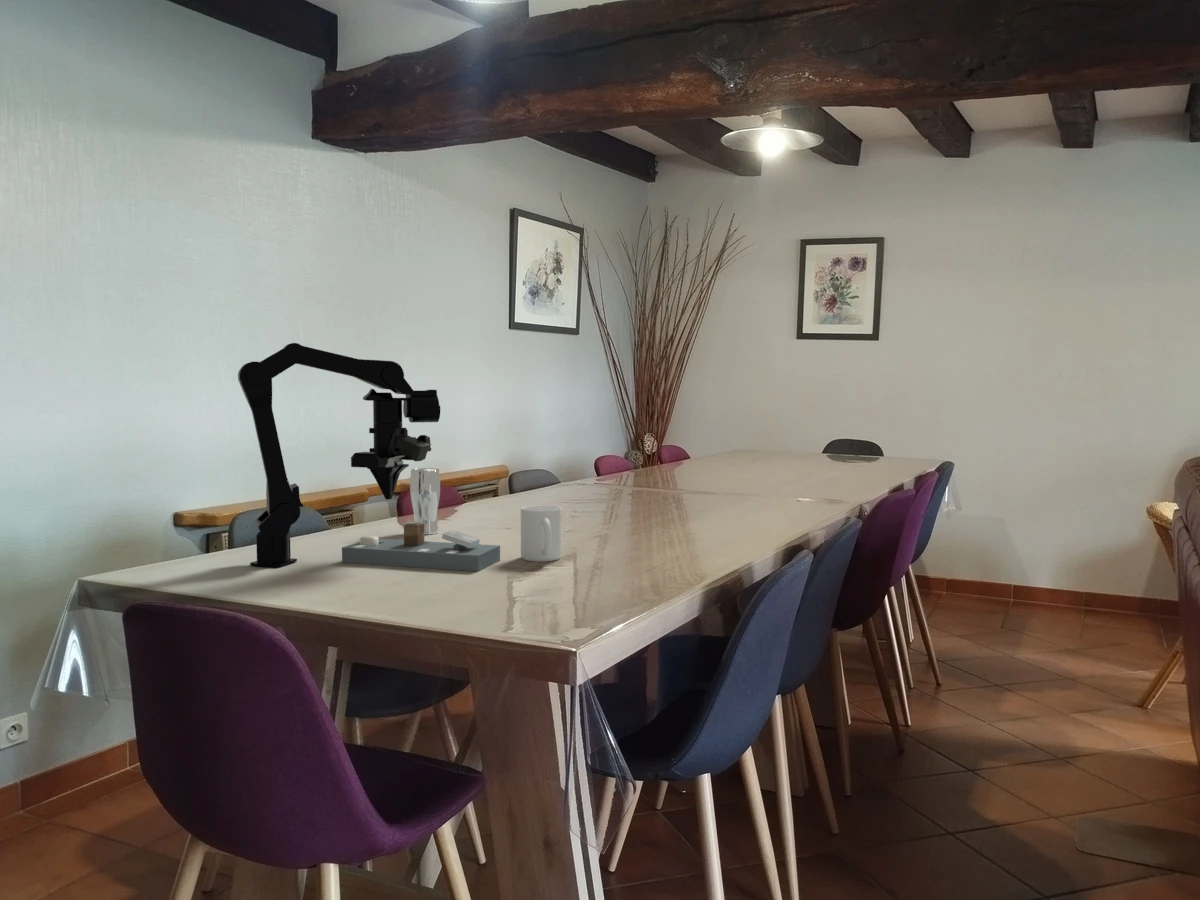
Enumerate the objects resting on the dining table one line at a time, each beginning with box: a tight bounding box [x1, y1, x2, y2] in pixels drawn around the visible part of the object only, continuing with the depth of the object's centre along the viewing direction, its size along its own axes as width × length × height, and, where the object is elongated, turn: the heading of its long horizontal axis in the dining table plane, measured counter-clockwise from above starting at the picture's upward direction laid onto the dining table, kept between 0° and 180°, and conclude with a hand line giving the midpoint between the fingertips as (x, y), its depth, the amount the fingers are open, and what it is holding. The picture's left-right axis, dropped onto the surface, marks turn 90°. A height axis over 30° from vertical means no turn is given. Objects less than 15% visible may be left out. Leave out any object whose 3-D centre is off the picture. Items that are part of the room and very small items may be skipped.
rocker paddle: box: [441, 529, 481, 548], centre depth 180 cm, size 5×6×1 cm
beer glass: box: [409, 467, 441, 536], centre depth 216 cm, size 7×7×15 cm
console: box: [341, 538, 501, 572], centre depth 183 cm, size 11×29×4 cm, turn 75°
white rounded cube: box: [359, 535, 380, 546], centre depth 186 cm, size 4×4×4 cm
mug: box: [520, 504, 563, 563], centre depth 185 cm, size 12×8×10 cm
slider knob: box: [403, 520, 425, 545], centre depth 185 cm, size 3×3×4 cm
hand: (388, 499), depth 188 cm, fingers closed
